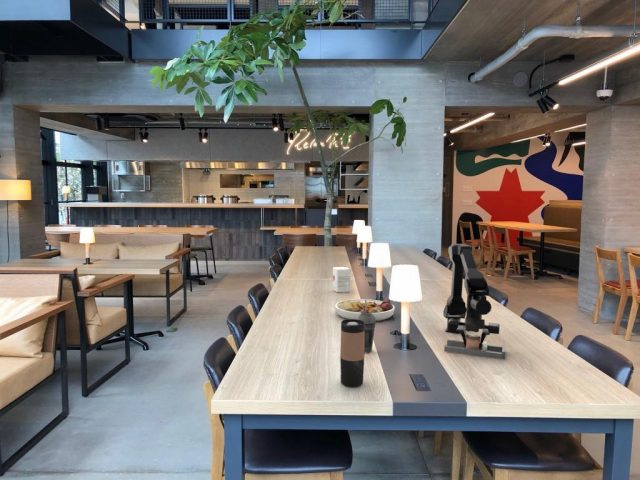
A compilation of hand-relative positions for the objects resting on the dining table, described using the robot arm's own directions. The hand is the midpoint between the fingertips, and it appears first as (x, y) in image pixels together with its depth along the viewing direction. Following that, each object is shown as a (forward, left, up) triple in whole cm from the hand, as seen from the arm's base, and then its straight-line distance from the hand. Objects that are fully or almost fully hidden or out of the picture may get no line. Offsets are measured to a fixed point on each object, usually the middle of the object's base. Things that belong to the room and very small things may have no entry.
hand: (472, 347), depth 176 cm
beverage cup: (+17, -38, -2) cm, 42 cm away
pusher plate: (0, +5, -2) cm, 5 cm away
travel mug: (+48, -33, -2) cm, 58 cm away
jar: (0, 0, -1) cm, 1 cm away
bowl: (-35, -55, -2) cm, 65 cm away
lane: (0, +1, -2) cm, 2 cm away
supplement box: (-84, -86, -2) cm, 120 cm away
